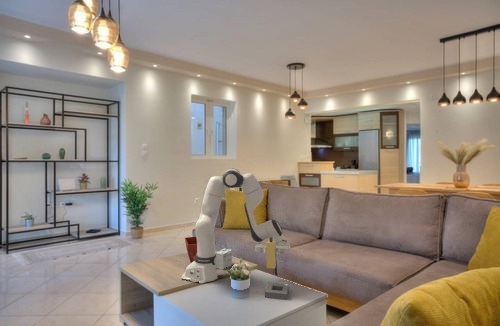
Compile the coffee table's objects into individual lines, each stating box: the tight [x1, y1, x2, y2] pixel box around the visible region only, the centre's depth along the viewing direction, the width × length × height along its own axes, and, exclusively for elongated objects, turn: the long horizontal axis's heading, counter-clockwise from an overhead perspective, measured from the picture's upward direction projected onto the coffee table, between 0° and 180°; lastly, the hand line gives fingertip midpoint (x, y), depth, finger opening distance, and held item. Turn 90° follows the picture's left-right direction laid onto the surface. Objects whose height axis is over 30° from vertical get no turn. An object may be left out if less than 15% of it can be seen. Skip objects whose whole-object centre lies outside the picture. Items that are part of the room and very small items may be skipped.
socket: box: [264, 282, 290, 301], centre depth 175 cm, size 12×12×4 cm
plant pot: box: [184, 236, 217, 264], centre depth 221 cm, size 19×19×17 cm
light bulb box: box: [215, 247, 233, 270], centre depth 215 cm, size 11×7×11 cm, turn 149°
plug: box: [265, 237, 277, 270], centre depth 175 cm, size 4×4×16 cm
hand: (270, 253), depth 174 cm, fingers closed on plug, 4 cm apart
